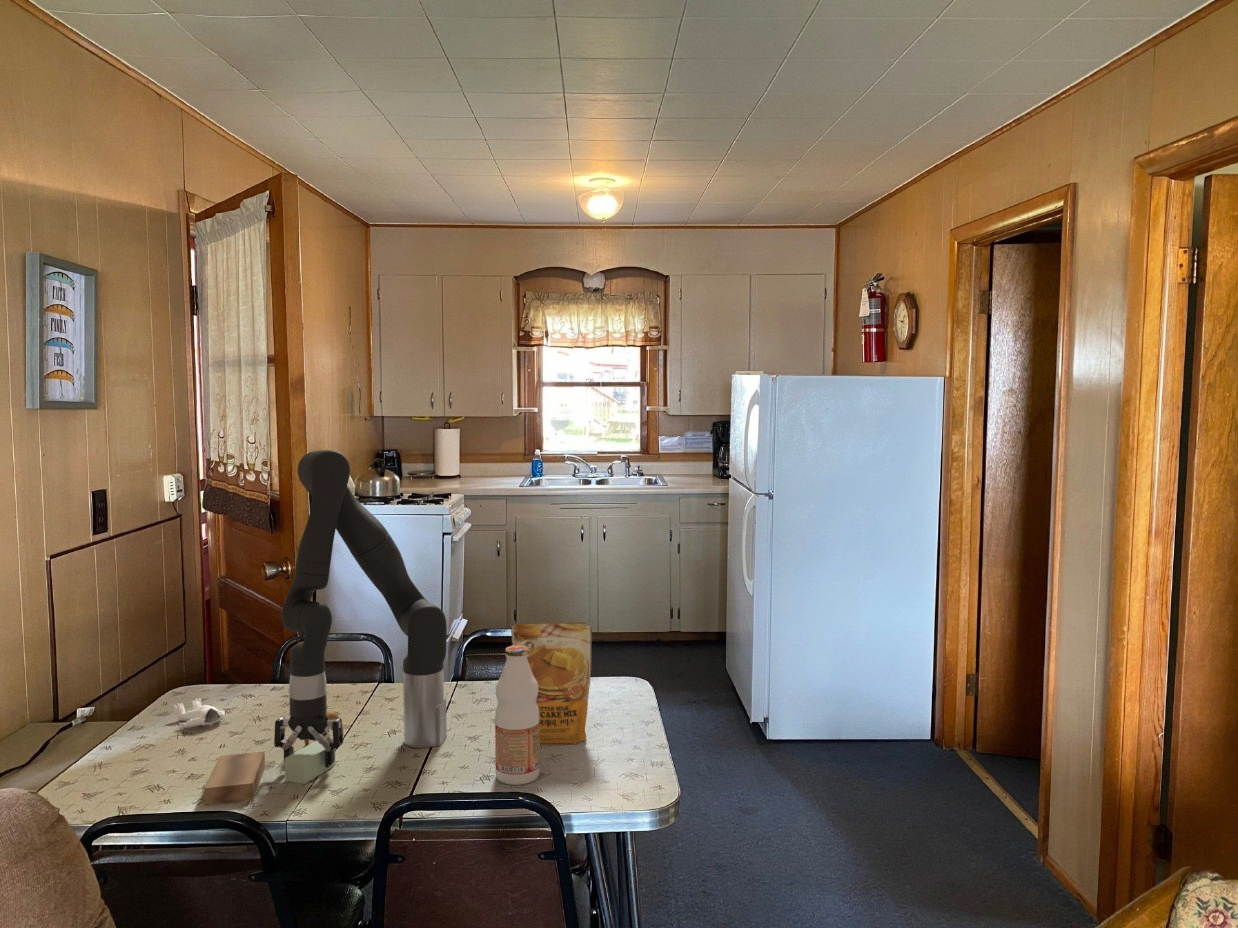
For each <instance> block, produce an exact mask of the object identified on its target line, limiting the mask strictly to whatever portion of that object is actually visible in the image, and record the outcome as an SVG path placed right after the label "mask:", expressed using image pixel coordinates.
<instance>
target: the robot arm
mask: <svg viewBox="0 0 1238 928" xmlns="http://www.w3.org/2000/svg"><path fill="white" fill-rule="evenodd" d="M297 464H298V465H297V477H298V479H299V481H300V483H301V485H302V486H303V487H304V488H305V490H306V491H307V492H308V493H309V494H310V495H311V503H310V510H309V513H308V514H309V515H308V519H307V522H306V524H305V527H304V531H303V532H302V536H301V539H300V541H299V545H298V549H297V554H296V561H295V567H294V577H293V580H292V582H291V583H292V584H291V585H290V588H289V590H288V593H287V595H286V597H285V600H284V602H283V604H282V609H281V622H282V625H283V627H284V628H285V629H286V630H287V631H289V632H292V633H296V634H303V635H304V639H303V642H301V643H298V644H295V645H294V646H293V647H292V648H291V649H290V653H289V672H290V673H289V675H290V676H289V683H288V693H289V696H288V698H289V699H288V700H289V718H286V717H285V716H284V715H283V716H282V715H281V716H280V717H278V718H277V719H276V720H275V721H274V737H273V738H274V740H273V741H274V742H273V745H274V747H275V748H281V749H282V750H283V763H284V764H285V758H286V757H288V756H290V755H291V754H293V753H295V752H294V746H293V745H294V743H295V741H296V740H297V739H299V741H304V740H305V739H308V740H309V741H314V740H315V739H316V740H317V741H318V743H319V744H322V746H323V747H324V748H325V750H326V751H325V768H329V767H330V766H331V765H332V764H333V763H334V760H335V761H336V757H335V758H334V749H335V750H338V749H339V748H340V747H341V746H342V745H343V743H344V730H343V731H342V728H343V720H342V718H341V717H339V718H337V719H336V720H328V718H327V715H326V714H327V712H328V711H327V710H328V709H327V708H328V707H327V703H328V702H327V701H328V699H327V698H328V697H327V675H326V669H325V668H326V666H325V665H326V662H325V661H326V657H325V655H326V654H325V653H326V649H327V644H328V642H329V641H328V640H329V636H330V633H331V628H332V625H333V616H332V611H331V609H330V608H329V606H328V605H327V604H326V603H324V602H320V601H313V600H312V597H313V595H314V594H315V591H320V590H324V589H325V588H327V586H328V583H329V578H330V572H331V571H330V570H331V563H332V554H333V547H334V541H335V540H334V539H335V535H336V531H337V534H338V535H339V537H341V540H342V541H343V543H344V544H345V545H346V547H347V549H348V550H349V552H350V554H351V555H352V557H353V558H354V559H355V561H356V563H357V564H358V566H359V567H360V569H361V570H362V571H363V572H364V574H365V576H366V577H367V578H368V579H369V580H370V582H371V583H372V584H373V586H374V587H375V588H376V589H377V591H379V593H380V594H381V595H382V597H383V598H384V599H385V601H386V604H388V607H389V608H390V611H391V612H392V615H393V617H394V619H395V620H396V622H397V625H398V627H399V628H400V630H401V632H403V634H404V635H405V636H407V654H406V656H405V657H404V659H403V661H402V667H403V668H402V672H403V673H402V676H403V677H402V680H403V681H402V685H403V689H402V690H403V723H404V724H403V736H404V738H403V739H404V741H403V742H404V744H405V745H406V746H407V747H410V748H414V749H415V748H416V749H425V748H433V747H436V746H437V747H439V746H442V745H443V742H444V741H445V739H446V738H447V735H448V734H447V697H445V696H444V694H445V691H444V688H445V687H444V661H445V659H446V654H447V637H448V636H447V626H448V625H447V619H446V615H445V613H444V611H443V610H442V609H441V608H440V607H439V606H437V605H435V604H433V603H432V602H430V601H429V600H428V599H426V597H425V596H424V595H423V594H422V593H421V592H420V591H419V590H420V589H418V588H417V586H416V585H415V584H414V582H413V581H412V579H411V578H410V575H409V573H408V570H407V567H406V565H405V561H404V559H403V556H402V554H401V552H400V549H399V547H398V546H397V544H396V542H395V541H394V539H393V538H392V536H391V534H390V533H389V532H388V530H387V529H386V527H385V526H384V524H383V523H382V522H381V521H380V520H379V519H378V518H376V516H375V515H374V514H373V513H371V512H370V510H368V508H366V507H365V505H363V504H362V503H361V502H360V501H359V500H358V499H357V498H356V497H355V495H354V494H353V492H352V491H351V489H350V488H349V485H348V483H349V480H350V474H351V464H350V462H349V460H348V458H347V457H346V456H345V455H344V454H343V453H342V452H339V451H338V450H334V449H321V450H320V449H319V450H312V451H310V452H307V453H305V454H304V455H303V456H302V457H301V458H300V460H299V462H298V463H297ZM327 726H329V730H330V731H332V737H331V734H330V732H329V733H328V731H327V730H326V729H325V728H326V727H327ZM287 727H289V729H291V731H292V733H291V734H290V736H289V737H288V738H287V740H286V739H285V736H286V728H287ZM322 736H323V737H322Z"/></svg>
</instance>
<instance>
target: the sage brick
mask: <svg viewBox="0 0 1238 928" xmlns="http://www.w3.org/2000/svg"><path fill="white" fill-rule="evenodd" d="M325 751H326V750H325V748H324V747H323V746H322V744H319V743H318V741H315V742H314V741H313V742H311V743H309V745H308V746H306V747H304V748H303V747H302V748H301V749H299V750H297V751H295V752H294V753H293V754H291V755H290V756H288V757H286V758H285V763H284V777H285V778H284V780H285V781H288V782H293V783H299V784H303V785H306V784H307V783H308V782H310V781H311V780H313V779H315V778H316V777H318V776H320V775H322V774H323V773H325V772H326V771H328V770H330V769H331V768H333V767H335V766H336V749H334V758H335V760H334V763H333V764H332V765H331V766H330V767H329V768H325Z"/></svg>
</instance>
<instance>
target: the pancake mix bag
mask: <svg viewBox="0 0 1238 928" xmlns="http://www.w3.org/2000/svg"><path fill="white" fill-rule="evenodd" d="M510 634H511V646H514V645H521V646H526V647H528V651H529V653H528V656H527V660H528V663H529V666H530V668H531V671H532V673H533V676H534V677H535V679H536V680H537V683H538V688H539V691H538V696H537V700H536V702H537V705H538V708H539V718H540V720H539V739H540V745H541V746H548V745H549V746H551V745H552V746H553V745H554V746H555V745H561V746H562V745H565V746H567V745H568V746H569V745H578V744H579V743H581V742H586V741H588V740H587V734H586V725H587V723H586V722H587V716H588V708H589V707H588V705H589V694H590V685H591V673H592V658H593V657H592V650H593V649H592V647H593V646H592V645H593V643H592V642H593V630H592V626H591V625H587V622H581V621H579V622H577V621H576V622H551V621H550V622H526V623H525V622H524V623H523V622H522V623H516V624H514V625H512V626H511V627H510Z"/></svg>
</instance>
